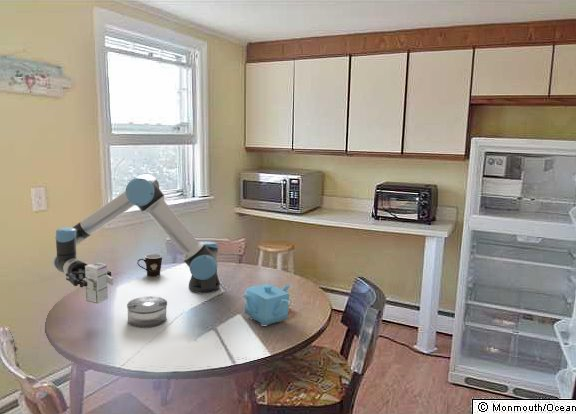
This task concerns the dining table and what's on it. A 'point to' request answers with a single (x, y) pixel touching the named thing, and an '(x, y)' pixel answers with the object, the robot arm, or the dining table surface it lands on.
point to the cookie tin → (147, 312)
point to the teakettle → (267, 303)
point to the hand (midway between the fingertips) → (102, 283)
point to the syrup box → (97, 282)
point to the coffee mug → (152, 264)
